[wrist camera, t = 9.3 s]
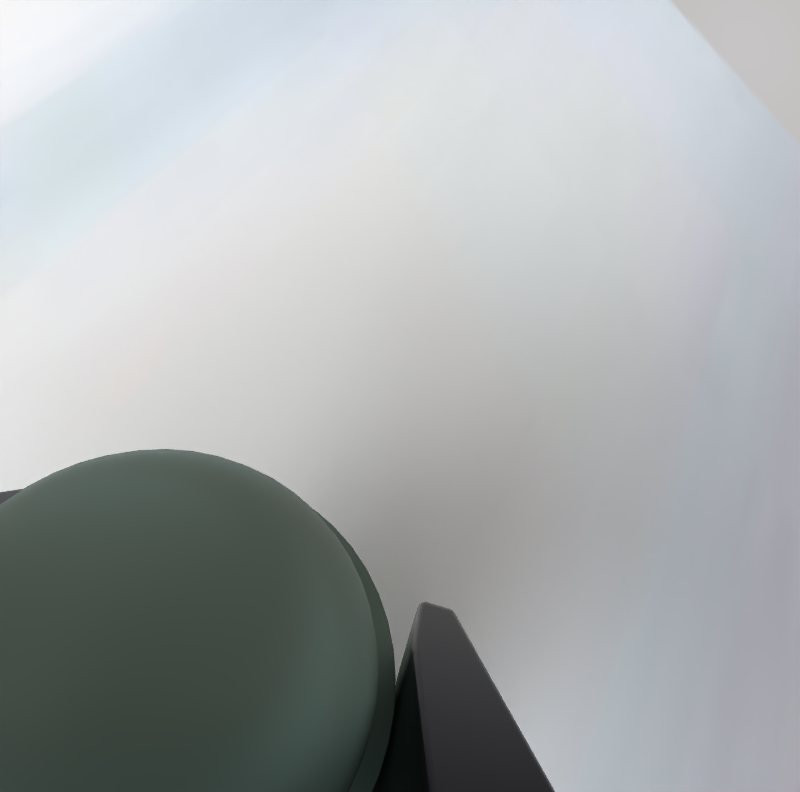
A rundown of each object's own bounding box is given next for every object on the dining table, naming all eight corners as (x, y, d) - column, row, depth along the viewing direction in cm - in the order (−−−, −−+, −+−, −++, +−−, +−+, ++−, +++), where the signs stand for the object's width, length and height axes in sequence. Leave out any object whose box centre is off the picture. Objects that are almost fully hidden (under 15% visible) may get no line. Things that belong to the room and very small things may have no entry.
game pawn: (434, 851, 13) (646, 990, 4) (119, 960, 12) (-552, 1476, 3) (359, 560, 16) (385, 235, 7) (91, 629, 15) (-329, 358, 6)
